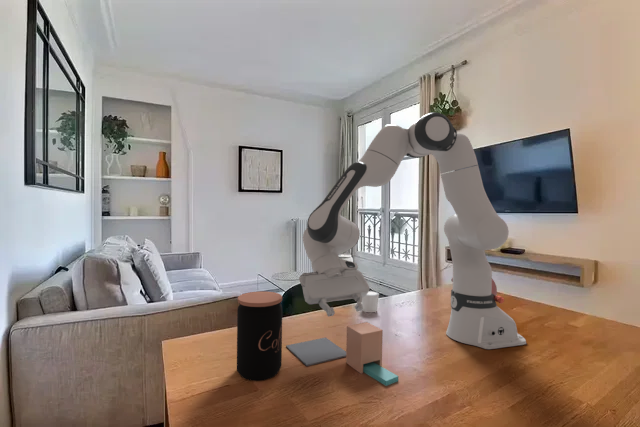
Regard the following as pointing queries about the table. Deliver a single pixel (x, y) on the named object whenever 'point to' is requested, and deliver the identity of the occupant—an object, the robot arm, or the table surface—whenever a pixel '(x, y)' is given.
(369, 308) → the white cylinder
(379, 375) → the stick
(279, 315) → the coffee jar
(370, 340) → the cover
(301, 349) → the pad
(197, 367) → the table surface
